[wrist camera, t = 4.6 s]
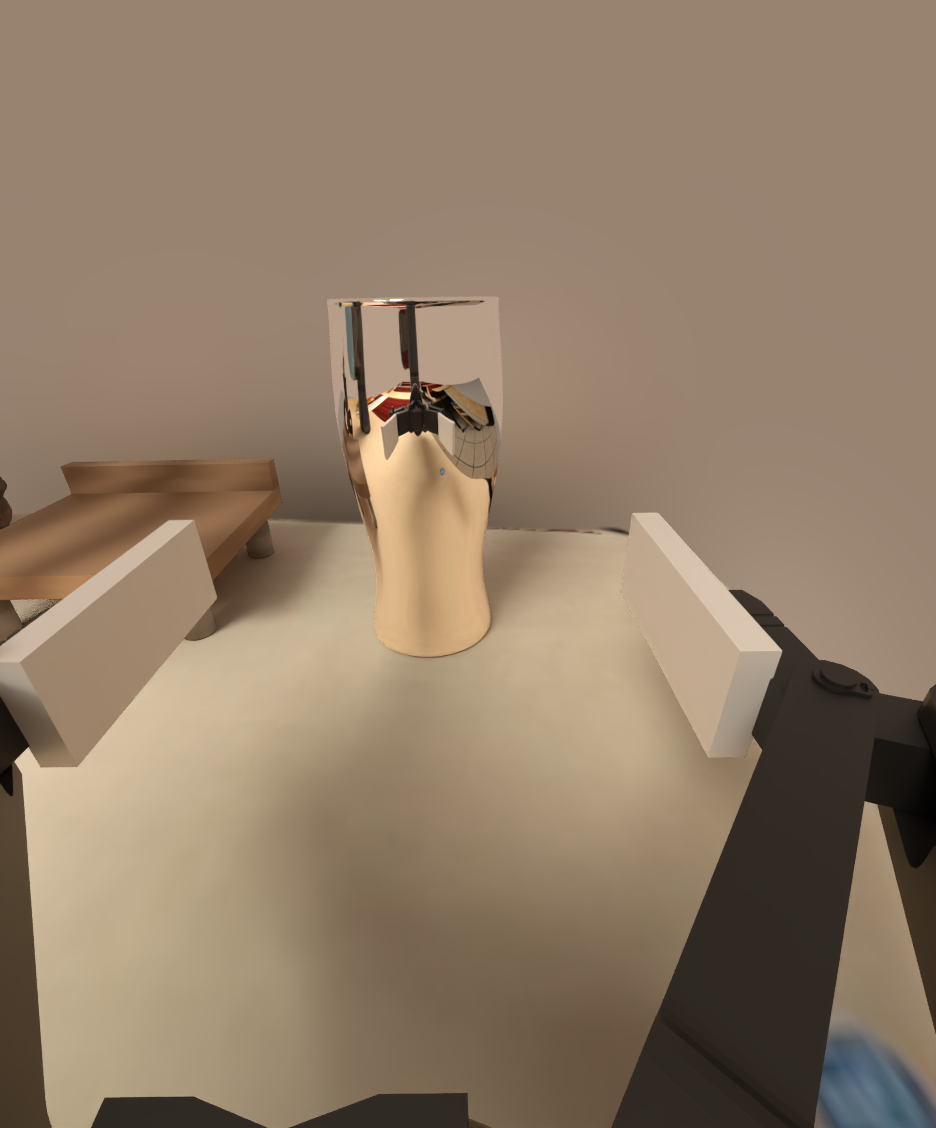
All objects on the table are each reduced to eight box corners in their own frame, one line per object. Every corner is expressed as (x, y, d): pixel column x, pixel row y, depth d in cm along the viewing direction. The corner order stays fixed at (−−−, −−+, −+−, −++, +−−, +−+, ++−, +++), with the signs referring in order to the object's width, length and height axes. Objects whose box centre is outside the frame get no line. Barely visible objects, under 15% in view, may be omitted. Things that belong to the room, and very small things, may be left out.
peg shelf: (-51, 653, 24) (-121, 542, 22) (104, 546, 35) (71, 462, 32) (215, 648, 24) (180, 536, 22) (290, 542, 35) (273, 458, 32)
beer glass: (512, 597, 28) (522, 296, 21) (476, 677, 22) (473, 296, 15) (400, 580, 30) (374, 298, 23) (339, 649, 24) (280, 299, 17)
